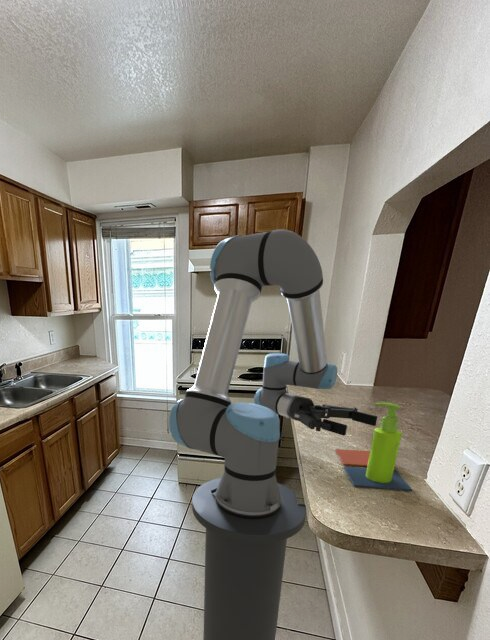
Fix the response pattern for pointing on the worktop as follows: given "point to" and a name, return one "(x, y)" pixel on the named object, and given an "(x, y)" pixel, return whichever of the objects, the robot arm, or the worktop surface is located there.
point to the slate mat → (361, 480)
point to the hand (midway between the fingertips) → (361, 425)
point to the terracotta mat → (354, 457)
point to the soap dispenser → (384, 446)
